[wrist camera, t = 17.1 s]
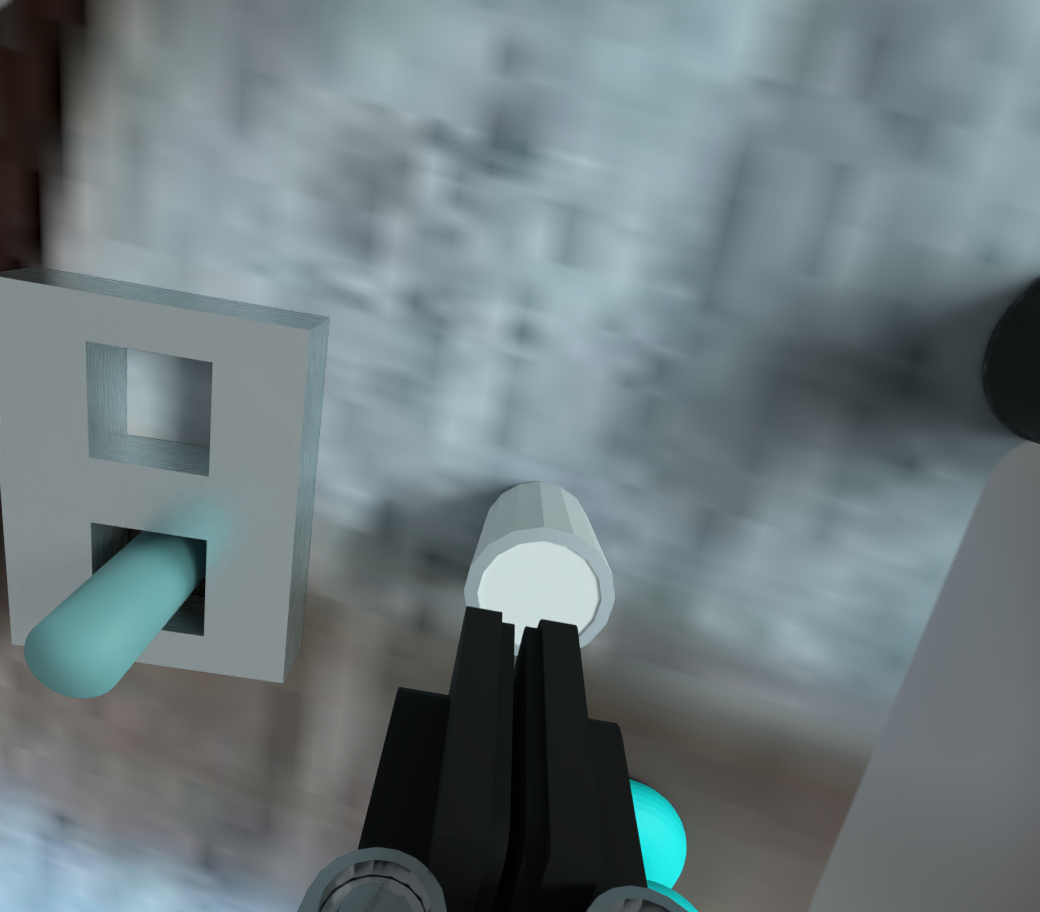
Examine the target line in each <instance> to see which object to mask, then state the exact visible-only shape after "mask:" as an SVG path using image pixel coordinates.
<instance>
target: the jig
mask: <svg viewBox="0 0 1040 912" xmlns="http://www.w3.org/2000/svg"><path fill="white" fill-rule="evenodd" d="M329 319H330V318H328V317H322V316H317V315H311V314H305V313H299V312H294V311H288V310H282V309H276V308H271V307H265V306H259V305H253V304H248V303H242V302H236V301H230V300H225V299H219V298H213V297H207V296H202V295H196V294H190V293H184V292H178V291H173V290H167V289H161V288H155V287H150V286H144V285H138V284H132V283H127V282H121V281H115V280H109V279H104V278H98V277H92V276H86V275H81V274H75V273H69V272H63V271H58V270H52V269H46V268H40V267H30V268H24V269H17V270H10V271H3V272H0V489H1V502H2V516H3V529H4V543H5V556H6V570H7V583H8V597H9V610H10V624H11V637H12V644H14V645H21V646H24V645H25V641H26V638H27V636H28V634H29V632H30V631H31V630H32V629H33V628H34V627H35V626H36V625H37V624H38V623H39V622H41V621H42V620H43V619H44V618H45V617H46V616H47V615H48V614H50V613H51V612H52V611H53V610H54V609H55V608H56V607H57V606H59V605H60V604H61V603H62V602H63V601H64V600H65V599H66V598H68V597H69V596H70V595H71V594H72V593H73V592H74V591H75V590H77V589H78V588H79V587H80V586H81V585H82V584H83V583H84V582H85V581H87V580H88V579H89V578H90V577H91V576H92V575H93V574H94V573H96V572H97V571H98V570H99V569H100V568H101V567H102V566H103V565H105V564H106V563H107V562H108V561H109V560H110V559H111V558H112V557H114V556H115V555H116V554H117V553H118V552H119V551H120V550H121V549H123V548H124V547H125V546H126V545H127V544H128V528H131V529H137V530H144V531H150V532H157V533H163V534H170V535H176V536H183V537H189V538H196V539H202V540H207V555H206V587H205V597H202V596H195V595H189V597H188V598H187V599H186V600H185V601H184V603H183V604H182V605H181V606H180V607H179V609H178V610H177V611H176V612H175V613H174V615H173V616H172V617H171V618H170V620H169V621H168V622H167V623H166V624H165V626H164V627H163V628H162V629H161V630H160V632H159V633H158V634H157V635H156V636H155V638H154V639H153V640H152V641H151V643H150V644H149V645H148V646H147V647H146V649H145V650H144V651H143V652H142V653H141V655H140V656H139V657H138V658H137V659H136V661H135V662H139V663H146V664H153V665H160V666H167V667H174V668H181V669H188V670H195V671H202V672H209V673H216V674H223V675H230V676H237V677H244V678H251V679H258V680H265V681H272V682H279V683H283V682H284V680H285V678H286V676H287V674H288V671H289V669H290V667H291V665H292V663H293V661H294V659H295V657H296V655H297V653H298V651H299V649H300V647H301V645H302V634H303V623H304V611H305V599H306V588H307V576H308V564H309V552H310V541H311V529H312V517H313V506H314V494H315V482H316V471H317V459H318V447H319V436H320V424H321V412H322V401H323V389H324V377H325V366H326V354H327V342H328V331H329ZM126 348H130V349H136V350H142V351H148V352H154V353H160V354H166V355H172V356H177V357H183V358H189V359H195V360H201V361H207V362H213V366H212V397H211V429H210V448H208V447H202V446H195V445H189V444H183V443H177V442H171V441H164V440H158V439H152V438H146V437H140V436H134V435H127V397H126Z"/></svg>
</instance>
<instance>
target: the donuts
mask: <svg viewBox="0 0 1040 912" xmlns="http://www.w3.org/2000/svg"><path fill="white" fill-rule="evenodd" d="M629 780H630V786H631V792H632V798H633V804H634V809H635V815H636V821H637V827H638V833H639V839H640V845H641V851H642V856H643V862H644V868H645V874H646V880H647V886H648V888H650V889H652V890H654V891H657V892H659V893H661V894H663V895H666V896H668V897H670V898H671V899H673V900H674V901H675V902H676V903H678V904H679V905H680V906H682V907H683V908H684V909H686V910H687V911H688V912H698V911H697V910H696V909H695V908H694V907H693V905H692V904H691V903H690V902H689V901H687V900H686V899H685V898H684V897H682V896H681V895H679V894H678V893H677V892H675V891H674V890H672V889H671V888H672V887H673V885H674V884H675V882H676V881H677V879H678V877H679V876H680V874H681V871H682V869H683V865H684V862H685V858H686V836H685V832H684V828H683V825H682V822H681V820H680V818H679V816H678V814H677V813H676V811H675V809H674V808H673V807H672V805H671V804H670V803H669V802H668V801H667V800H666V799H665V798H664V797H663V796H662V795H660V794H659V793H658V792H656V791H655V790H654V789H652V788H650V787H649V786H647V785H645V784H642V783H640V782H637V781H634V780H631V779H629Z"/></svg>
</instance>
